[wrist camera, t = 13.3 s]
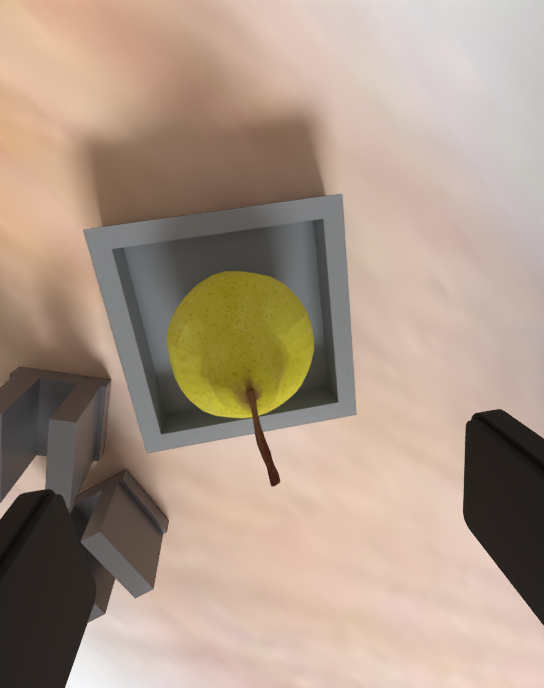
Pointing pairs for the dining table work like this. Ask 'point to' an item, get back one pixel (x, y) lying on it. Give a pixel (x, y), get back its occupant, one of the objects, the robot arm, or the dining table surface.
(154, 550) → the clip
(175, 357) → the fruit
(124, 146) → the dining table surface
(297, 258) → the grey square tray
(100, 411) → the clip
